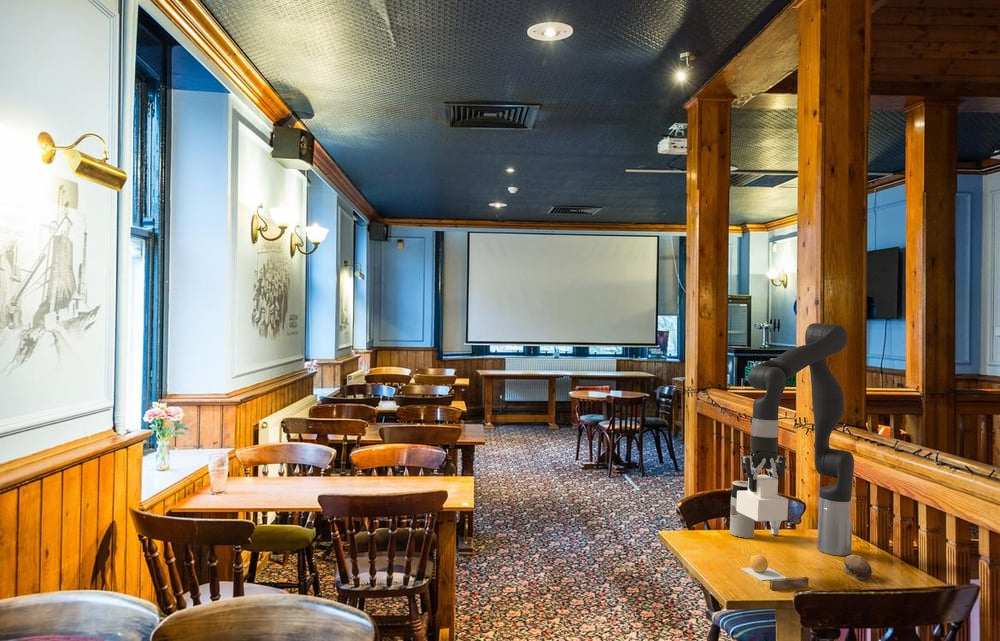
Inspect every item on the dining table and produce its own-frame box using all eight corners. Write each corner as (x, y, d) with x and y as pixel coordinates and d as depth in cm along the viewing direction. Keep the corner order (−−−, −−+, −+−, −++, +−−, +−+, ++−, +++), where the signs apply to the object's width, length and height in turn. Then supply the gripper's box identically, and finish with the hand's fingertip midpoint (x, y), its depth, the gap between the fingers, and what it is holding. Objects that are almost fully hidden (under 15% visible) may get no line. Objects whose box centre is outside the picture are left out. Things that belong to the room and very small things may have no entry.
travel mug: (748, 531, 232) (750, 480, 233) (757, 539, 224) (759, 486, 225) (726, 531, 232) (728, 480, 232) (734, 538, 224) (736, 485, 224)
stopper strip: (805, 585, 184) (805, 576, 184) (808, 587, 183) (808, 578, 183) (769, 588, 181) (769, 579, 181) (772, 590, 180) (772, 581, 180)
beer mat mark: (766, 567, 197) (766, 566, 197) (787, 578, 189) (787, 577, 189) (740, 569, 195) (740, 568, 195) (760, 580, 186) (760, 580, 186)
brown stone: (833, 558, 198) (847, 546, 195) (856, 569, 198) (870, 556, 195) (842, 580, 191) (856, 567, 188) (865, 591, 191) (880, 578, 188)
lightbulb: (786, 538, 226) (787, 506, 226) (766, 536, 227) (768, 505, 227) (782, 533, 232) (783, 502, 232) (763, 531, 234) (764, 500, 234)
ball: (773, 570, 190) (763, 574, 194) (769, 552, 193) (759, 556, 197) (757, 570, 189) (748, 574, 193) (753, 552, 192) (744, 556, 196)
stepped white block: (764, 509, 200) (766, 472, 200) (787, 520, 190) (789, 481, 190) (736, 510, 197) (738, 473, 197) (757, 521, 187) (759, 481, 187)
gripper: (776, 432, 199) (774, 487, 199) (735, 432, 195) (733, 488, 195) (794, 436, 192) (791, 494, 192) (751, 436, 188) (749, 495, 188)
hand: (762, 491), depth 194 cm, fingers closed on stepped white block, 5 cm apart
